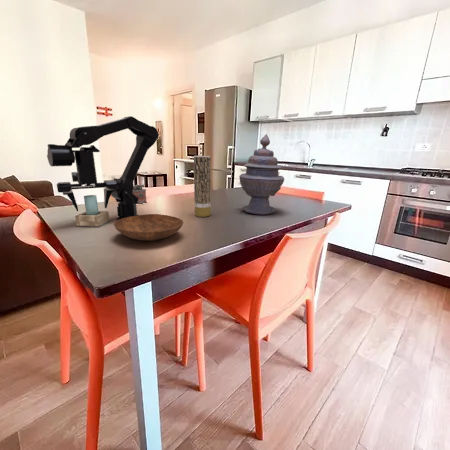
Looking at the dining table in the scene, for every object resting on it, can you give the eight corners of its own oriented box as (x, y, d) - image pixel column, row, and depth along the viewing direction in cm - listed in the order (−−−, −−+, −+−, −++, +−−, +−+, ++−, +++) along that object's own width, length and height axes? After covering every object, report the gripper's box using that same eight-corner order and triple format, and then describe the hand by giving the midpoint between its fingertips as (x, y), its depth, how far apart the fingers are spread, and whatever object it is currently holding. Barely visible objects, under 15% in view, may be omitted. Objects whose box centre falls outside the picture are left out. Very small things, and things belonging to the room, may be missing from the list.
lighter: (134, 205, 123) (133, 185, 120) (131, 204, 125) (129, 185, 122) (148, 203, 129) (146, 184, 127) (144, 202, 131) (143, 183, 128)
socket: (109, 221, 95) (108, 211, 93) (99, 227, 87) (97, 216, 86) (89, 220, 95) (87, 210, 93) (76, 226, 87) (75, 216, 86)
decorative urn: (226, 209, 115) (234, 130, 105) (254, 206, 128) (264, 136, 119) (259, 220, 101) (272, 130, 91) (287, 215, 114) (301, 137, 105)
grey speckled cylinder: (211, 213, 109) (211, 155, 102) (209, 217, 102) (209, 155, 95) (196, 213, 109) (195, 155, 102) (193, 217, 103) (191, 155, 96)
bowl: (155, 224, 92) (154, 211, 91) (196, 236, 79) (196, 221, 77) (103, 236, 77) (101, 221, 76) (142, 254, 64) (141, 236, 63)
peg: (101, 221, 93) (98, 195, 90) (96, 224, 89) (92, 197, 86) (91, 221, 93) (87, 194, 90) (85, 224, 89) (81, 196, 86)
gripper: (110, 164, 96) (114, 203, 101) (53, 165, 86) (60, 208, 90) (116, 165, 88) (120, 208, 92) (53, 166, 77) (62, 214, 82)
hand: (92, 209), depth 89 cm, fingers open, 9 cm apart
